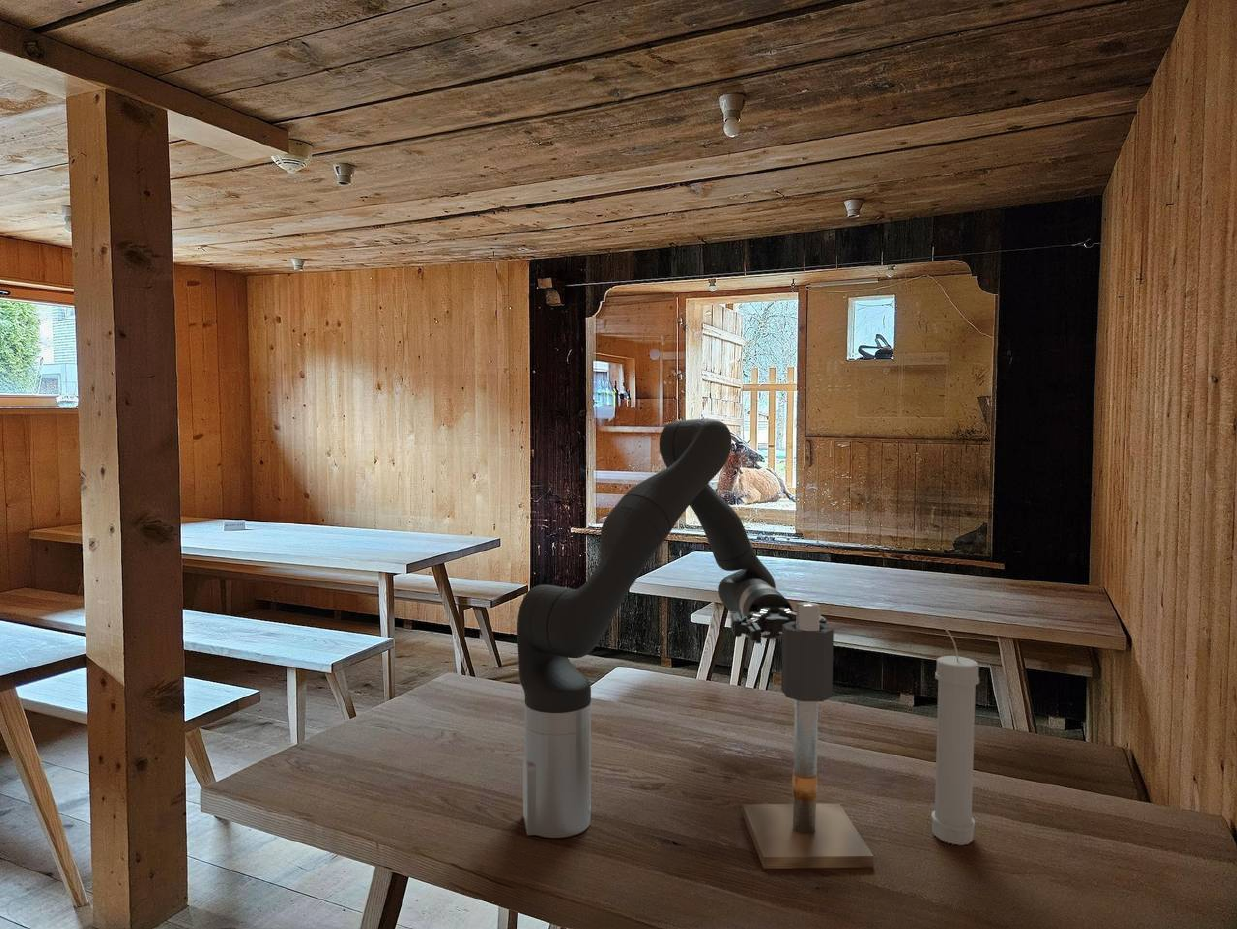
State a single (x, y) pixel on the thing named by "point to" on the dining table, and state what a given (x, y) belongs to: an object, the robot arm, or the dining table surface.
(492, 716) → the dining table surface
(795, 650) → the collar
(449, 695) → the dining table surface
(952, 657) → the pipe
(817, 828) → the post
